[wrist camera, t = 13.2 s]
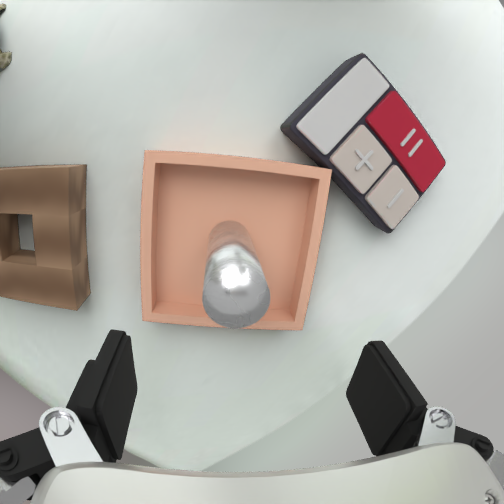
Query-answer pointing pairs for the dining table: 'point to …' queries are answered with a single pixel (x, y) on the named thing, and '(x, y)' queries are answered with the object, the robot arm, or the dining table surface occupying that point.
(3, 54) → the samovar
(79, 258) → the wooden square hole block
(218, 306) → the pin
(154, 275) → the tray
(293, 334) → the dining table surface
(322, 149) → the calculator
